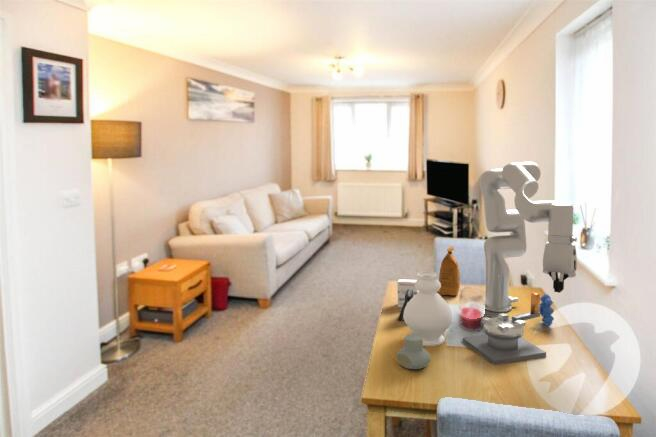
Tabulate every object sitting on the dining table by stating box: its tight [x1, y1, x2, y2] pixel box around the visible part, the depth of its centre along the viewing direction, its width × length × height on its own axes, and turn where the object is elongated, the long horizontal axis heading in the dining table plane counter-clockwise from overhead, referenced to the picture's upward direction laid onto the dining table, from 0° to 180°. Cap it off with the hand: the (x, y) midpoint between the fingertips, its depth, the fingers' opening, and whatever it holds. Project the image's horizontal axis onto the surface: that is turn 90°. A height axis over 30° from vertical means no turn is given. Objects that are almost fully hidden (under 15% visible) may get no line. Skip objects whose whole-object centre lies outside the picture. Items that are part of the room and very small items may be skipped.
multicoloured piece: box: [481, 292, 541, 340], centre depth 175 cm, size 23×13×12 cm, turn 115°
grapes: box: [539, 293, 555, 328], centre depth 195 cm, size 12×7×12 cm, turn 170°
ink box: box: [397, 278, 419, 308], centre depth 220 cm, size 9×5×12 cm, turn 75°
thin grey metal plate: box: [462, 333, 547, 366], centre depth 175 cm, size 20×20×6 cm
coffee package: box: [438, 245, 461, 296], centre depth 236 cm, size 10×12×22 cm
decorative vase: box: [403, 271, 453, 347], centre depth 183 cm, size 18×18×25 cm
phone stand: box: [397, 289, 414, 323], centre depth 205 cm, size 9×6×12 cm, turn 74°
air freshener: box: [396, 333, 431, 370], centre depth 164 cm, size 11×8×10 cm
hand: (558, 291), depth 172 cm, fingers closed
